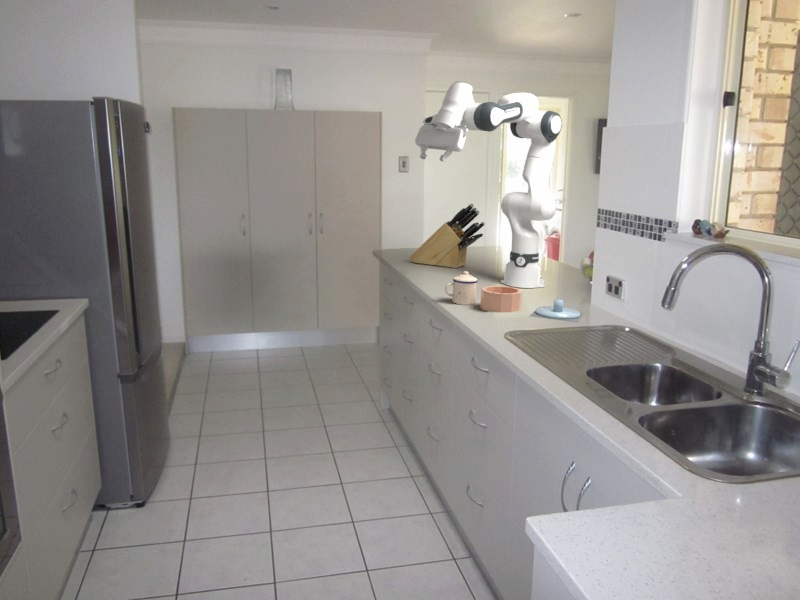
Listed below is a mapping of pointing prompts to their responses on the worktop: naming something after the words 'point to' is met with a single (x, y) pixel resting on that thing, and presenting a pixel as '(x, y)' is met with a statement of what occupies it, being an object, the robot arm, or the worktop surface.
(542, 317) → the mat
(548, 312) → the lid
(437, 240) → the knife block
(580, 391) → the worktop surface
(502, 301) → the bowl
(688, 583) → the worktop surface
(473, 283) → the teacup with lid
